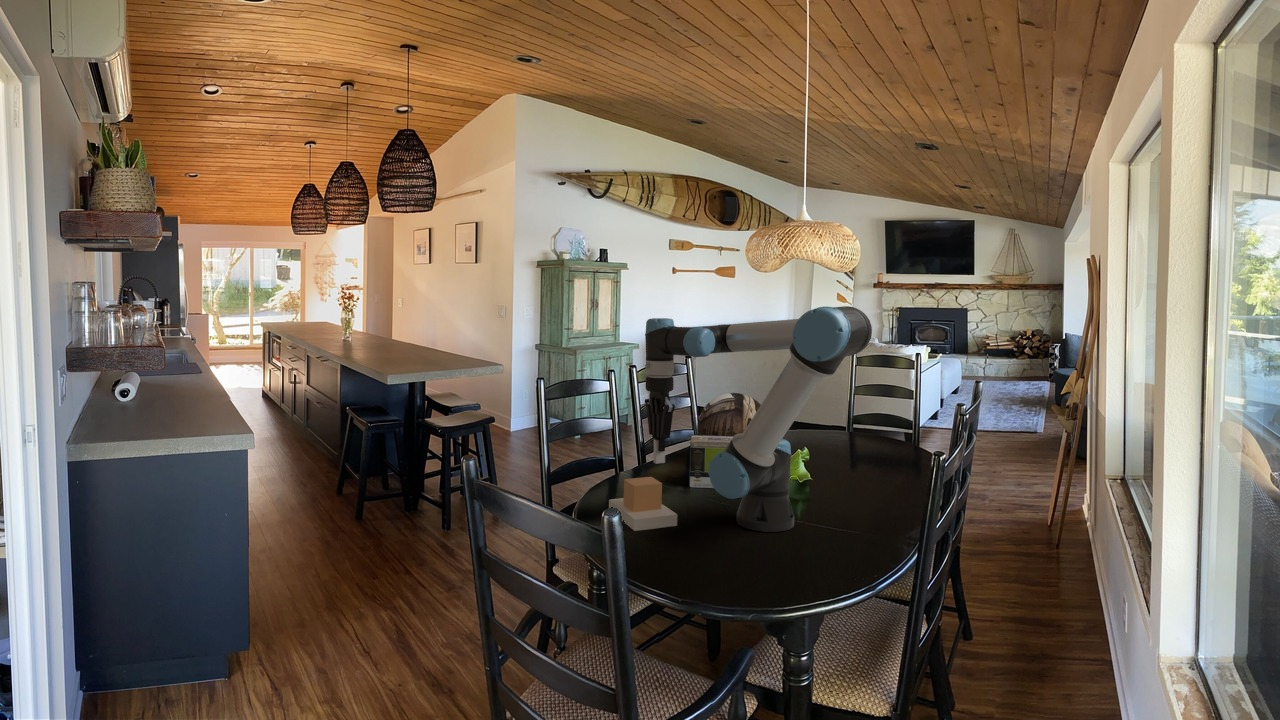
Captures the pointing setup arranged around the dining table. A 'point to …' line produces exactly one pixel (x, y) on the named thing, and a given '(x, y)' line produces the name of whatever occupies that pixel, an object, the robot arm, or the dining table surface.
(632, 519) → the socket plate
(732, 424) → the sphere
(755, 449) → the robot arm
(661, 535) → the dining table surface
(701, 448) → the tea box
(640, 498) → the plug
